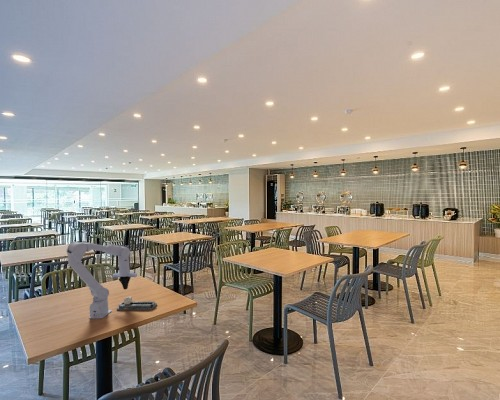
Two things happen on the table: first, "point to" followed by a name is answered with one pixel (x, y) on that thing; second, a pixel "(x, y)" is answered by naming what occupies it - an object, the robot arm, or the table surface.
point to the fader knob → (128, 300)
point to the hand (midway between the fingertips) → (125, 288)
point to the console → (137, 306)
